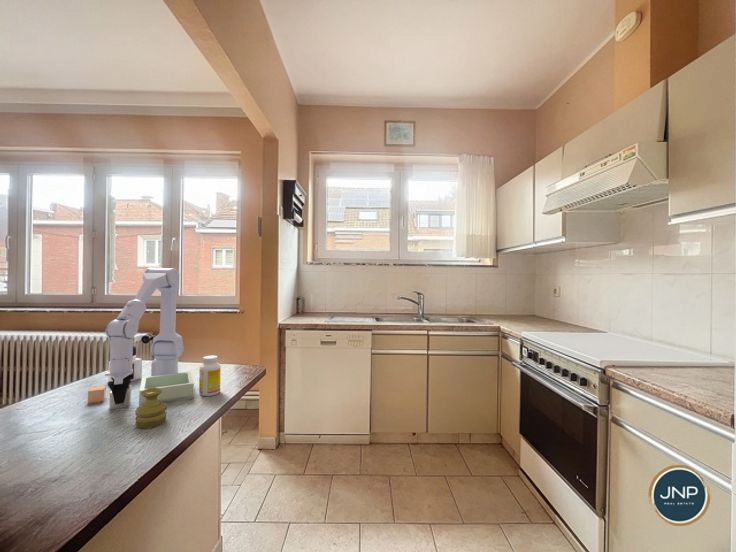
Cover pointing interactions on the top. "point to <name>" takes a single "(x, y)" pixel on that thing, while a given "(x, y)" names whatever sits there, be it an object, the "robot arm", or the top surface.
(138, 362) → the container
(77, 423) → the top surface
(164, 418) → the brass calibration weight
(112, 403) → the steel block
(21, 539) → the top surface
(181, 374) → the tote
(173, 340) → the robot arm
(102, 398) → the terracotta box
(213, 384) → the supplement bottle
